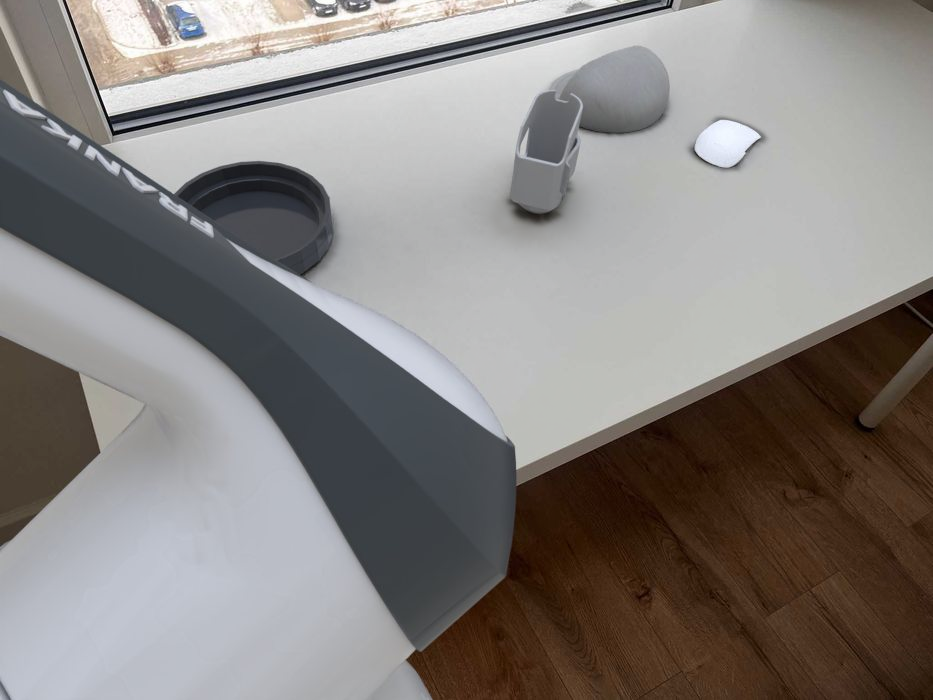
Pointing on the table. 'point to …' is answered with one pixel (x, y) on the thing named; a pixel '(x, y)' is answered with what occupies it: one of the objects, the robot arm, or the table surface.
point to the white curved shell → (725, 143)
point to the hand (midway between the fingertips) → (197, 443)
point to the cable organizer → (546, 152)
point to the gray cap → (618, 90)
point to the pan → (267, 209)
